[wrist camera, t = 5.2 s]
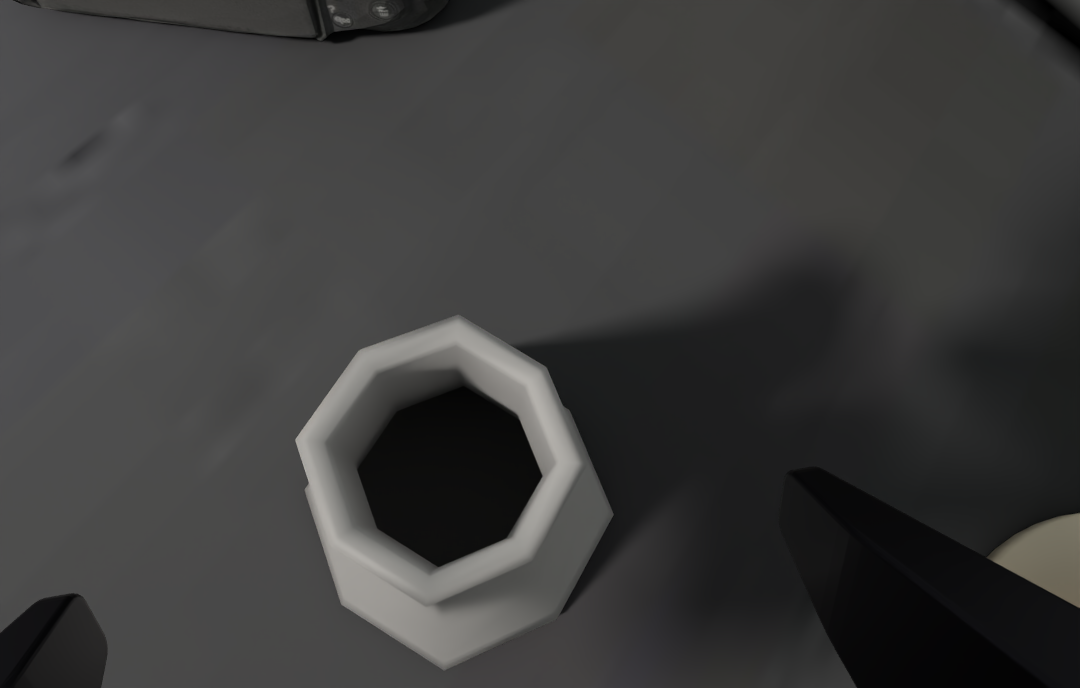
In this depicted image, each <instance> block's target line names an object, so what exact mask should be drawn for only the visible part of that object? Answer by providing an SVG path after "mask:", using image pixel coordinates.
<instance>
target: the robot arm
mask: <svg viewBox="0 0 1080 688" xmlns="http://www.w3.org/2000/svg"><path fill="white" fill-rule="evenodd" d="M779 525H780V529H781V532H782V535H783V537H784V539H785V541H786V544H787V546H788V548H789V550H790V553H791V555H792V557H793V560H794V562H795V564H796V566H797V569H798V571H799V573H800V575H801V578H802V580H803V582H804V585H805V587H806V589H807V591H808V594H809V596H810V598H811V600H812V603H813V605H814V607H815V610H816V612H817V614H818V616H819V619H820V621H821V623H822V625H823V627H824V629H825V631H826V633H827V635H828V637H829V639H830V641H831V643H832V644H833V646H834V648H835V650H836V652H837V654H838V655H839V657H840V659H841V661H842V662H843V664H844V666H845V668H846V669H847V671H848V673H849V675H850V676H851V678H852V680H853V682H854V683H855V685H856V687H857V688H1080V608H1079V607H1077V606H1075V605H1073V604H1071V603H1069V602H1068V601H1066V600H1064V599H1062V598H1060V597H1058V596H1056V595H1055V594H1053V593H1051V592H1049V591H1047V590H1045V589H1043V588H1042V587H1040V586H1038V585H1036V584H1034V583H1032V582H1031V581H1029V580H1027V579H1025V578H1023V577H1021V576H1019V575H1018V574H1016V573H1014V572H1012V571H1010V570H1008V569H1006V568H1005V567H1003V566H1001V565H999V564H997V563H995V562H994V561H992V560H990V559H988V558H986V557H984V556H982V555H981V554H979V553H977V552H975V551H973V550H971V549H969V548H968V547H966V546H964V545H962V544H960V543H958V542H956V541H955V540H953V539H951V538H949V537H947V536H945V535H944V534H942V533H940V532H938V531H936V530H934V529H932V528H931V527H929V526H927V525H925V524H923V523H921V522H919V521H918V520H916V519H914V518H912V517H910V516H908V515H907V514H905V513H903V512H901V511H899V510H897V509H895V508H894V507H892V506H890V505H888V504H886V503H884V502H882V501H881V500H879V499H877V498H875V497H873V496H871V495H869V494H868V493H866V492H864V491H862V490H860V489H858V488H857V487H855V486H853V485H851V484H849V483H847V482H845V481H844V480H842V479H840V478H838V477H836V476H834V475H832V474H831V473H829V472H827V471H825V470H823V469H821V468H818V467H808V468H802V469H796V470H791V471H789V472H788V473H787V474H786V476H785V478H784V483H783V490H782V496H781V503H780V509H779ZM107 649H108V648H107V641H106V637H105V635H104V633H103V631H102V629H101V627H100V626H99V624H98V622H97V620H96V618H95V617H94V615H93V613H92V611H91V610H90V608H89V606H88V604H87V602H86V601H85V599H84V598H83V597H82V596H80V595H79V594H73V593H72V594H65V595H60V596H54V597H48V598H44V599H41V600H39V601H37V602H36V603H34V604H33V605H32V606H31V607H29V608H28V609H27V610H26V611H25V612H24V613H22V614H21V615H20V616H19V617H18V618H17V619H16V620H14V621H13V622H12V623H11V624H10V625H9V626H8V627H6V628H5V629H4V630H3V631H2V632H1V633H0V688H101V685H102V680H103V675H104V670H105V665H106V660H107Z"/></svg>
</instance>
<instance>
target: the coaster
mask: <svg viewBox="0 0 1080 688" xmlns="http://www.w3.org/2000/svg"><path fill="white" fill-rule="evenodd" d="M987 558H988V559H990V560H992V561H994V562H995V563H997V564H999V565H1001V566H1003V567H1005V568H1006V569H1008V570H1010V571H1012V572H1014V573H1016V574H1018V575H1019V576H1021V577H1023V578H1025V579H1027V580H1029V581H1031V582H1032V583H1034V584H1036V585H1038V586H1040V587H1042V588H1043V589H1045V590H1047V591H1049V592H1051V593H1053V594H1055V595H1056V596H1058V597H1060V598H1062V599H1064V600H1066V601H1068V602H1069V603H1071V604H1073V605H1075V606H1077V607H1079V608H1080V513H1076V514H1070V515H1063V516H1058V517H1055V518H1052V519H1049V520H1045V521H1042V522H1039V523H1036V524H1034V525H1032V526H1030V527H1028V528H1026V529H1024V530H1022V531H1020V532H1018V533H1016V534H1015V535H1013V536H1012V537H1011V538H1009V539H1008V540H1006V541H1005V542H1004V543H1002V544H1001V545H1000V546H998V547H997V548H995V549H994V550H993V551H992V552H991V553H990V554H989V556H988V557H987Z"/></svg>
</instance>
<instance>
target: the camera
mask: <svg viewBox="0 0 1080 688" xmlns="http://www.w3.org/2000/svg"><path fill="white" fill-rule="evenodd" d="M13 1H16V2H18V3H21V4H24V5H28V6H33V7H38V8H47V9H53V10H59V11H65V12H75V13H83V14H90V15H99V16H111V17H122V18H129V19H135V20H142V21H149V22H159V23H170V24H178V25H186V26H194V27H201V28H209V29H217V30H225V31H233V32H242V33H257V34H265V35H274V36H289V37H304V38H316V39H318V40H319V41H323V40H324V39H325V38H326V37H327V36H328V35H329V34H331V33H333V32H336V31H344V30H353V29H367V30H375V31H383V32H385V31H398V30H404V29H408V28H413V27H416V26H418V25H421V24H423V23H425V22H427V21H429V20H431V19H432V18H433V17H434V16H435V15H436V14H438V13H439V12H440V11H441V10H442V9H443V8H444V7H445V6H446V4H447V3H448V1H449V0H13Z"/></svg>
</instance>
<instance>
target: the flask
mask: <svg viewBox="0 0 1080 688" xmlns="http://www.w3.org/2000/svg"><path fill="white" fill-rule="evenodd" d="M295 441H296V444H297V447H298V450H299V453H300V456H301V459H302V462H303V466H304V469H305V472H306V475H307V478H308V481H309V484H308V486H307V487H306V488H305V493H306V496H307V499H308V502H309V506H310V509H311V512H312V515H313V518H314V521H315V524H316V527H317V530H318V533H319V537H320V540H321V543H322V546H323V549H324V552H325V555H326V558H327V561H328V565H329V568H330V571H331V574H332V577H333V580H334V583H335V586H336V589H337V593H338V596H339V599H340V602H341V605H343V606H344V607H346V608H348V609H349V610H351V611H352V612H354V613H355V614H357V615H358V616H360V617H362V618H363V619H365V620H366V621H368V622H369V623H371V624H372V625H374V626H376V627H377V628H379V629H380V630H382V631H383V632H385V633H386V634H388V635H390V636H391V637H393V638H394V639H396V640H397V641H399V642H400V643H402V644H404V645H405V646H407V647H408V648H410V649H411V650H413V651H414V652H416V653H418V654H419V655H421V656H422V657H424V658H425V659H427V660H428V661H430V662H432V663H433V664H435V665H436V666H438V667H439V668H441V669H442V670H446V669H449V668H451V667H453V666H455V665H458V664H460V663H462V662H464V661H466V660H469V659H471V658H473V657H475V656H477V655H480V654H482V653H484V652H486V651H488V650H491V649H493V648H495V647H497V646H499V645H502V644H504V643H506V642H508V641H510V640H513V639H515V638H517V637H519V636H521V635H524V634H526V633H528V632H530V631H533V630H535V629H537V628H539V627H541V626H544V625H546V624H548V623H550V622H552V621H555V620H557V618H558V616H559V614H560V613H561V611H562V609H563V607H564V605H565V603H566V602H567V600H568V598H569V596H570V594H571V592H572V591H573V589H574V587H575V585H576V583H577V581H578V580H579V578H580V576H581V574H582V572H583V570H584V568H585V567H586V565H587V563H588V561H589V559H590V557H591V556H592V554H593V552H594V550H595V548H596V546H597V545H598V543H599V541H600V539H601V537H602V535H603V534H604V532H605V530H606V528H607V526H608V524H609V523H610V521H611V519H612V517H613V515H614V514H613V511H612V509H611V507H610V504H609V502H608V500H607V497H606V495H605V492H604V490H603V488H602V485H601V483H600V481H599V478H598V476H597V474H596V471H595V469H594V466H593V464H592V462H591V459H590V457H589V455H588V452H587V450H586V448H585V445H584V443H583V441H582V438H581V436H580V433H579V431H578V429H577V426H576V424H575V422H574V419H573V417H572V415H571V412H570V410H569V409H567V408H565V407H564V406H563V405H562V403H561V400H560V398H559V396H558V393H557V391H556V388H555V386H554V384H553V381H552V379H551V377H550V374H549V372H548V370H547V367H545V366H544V365H542V364H540V363H539V362H537V361H535V360H534V359H532V358H530V357H529V356H527V355H525V354H524V353H522V352H520V351H519V350H517V349H515V348H514V347H512V346H510V345H509V344H507V343H505V342H504V341H502V340H500V339H499V338H497V337H495V336H494V335H492V334H490V333H489V332H487V331H485V330H484V329H482V328H480V327H478V326H477V325H475V324H473V323H472V322H470V321H468V320H467V319H465V318H463V317H462V316H460V315H456V316H453V317H450V318H448V319H445V320H442V321H439V322H436V323H434V324H431V325H428V326H425V327H422V328H420V329H417V330H414V331H411V332H408V333H406V334H403V335H400V336H397V337H394V338H392V339H389V340H386V341H383V342H380V343H378V344H375V345H372V346H369V347H366V348H364V349H361V350H359V351H358V352H357V354H356V355H355V357H354V358H353V359H352V361H351V362H350V364H349V365H348V366H347V368H346V369H345V371H344V372H343V374H342V375H341V376H340V378H339V379H338V381H337V382H336V383H335V385H334V386H333V388H332V389H331V390H330V392H329V393H328V395H327V396H326V397H325V399H324V400H323V402H322V403H321V404H320V406H319V407H318V409H317V410H316V411H315V413H314V414H313V416H312V417H311V418H310V420H309V421H308V423H307V424H306V425H305V427H304V428H303V430H302V431H301V432H300V434H299V435H298V437H297V438H296V439H295Z"/></svg>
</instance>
